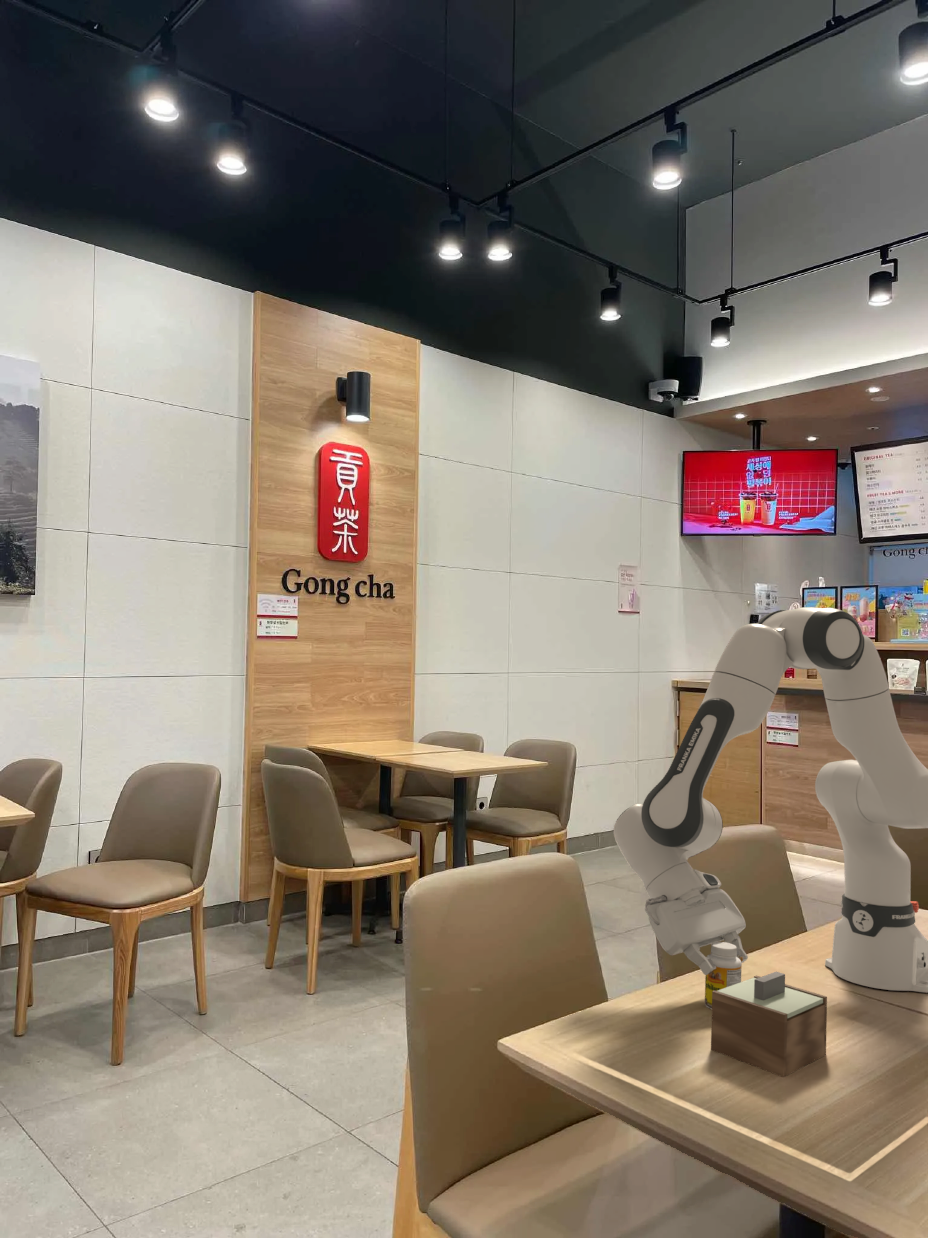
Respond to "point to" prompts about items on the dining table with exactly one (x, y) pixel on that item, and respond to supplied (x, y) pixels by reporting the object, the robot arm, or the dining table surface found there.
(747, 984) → the lid
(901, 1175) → the dining table surface
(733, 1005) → the walnut box
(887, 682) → the robot arm
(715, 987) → the supplement bottle
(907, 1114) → the dining table surface
